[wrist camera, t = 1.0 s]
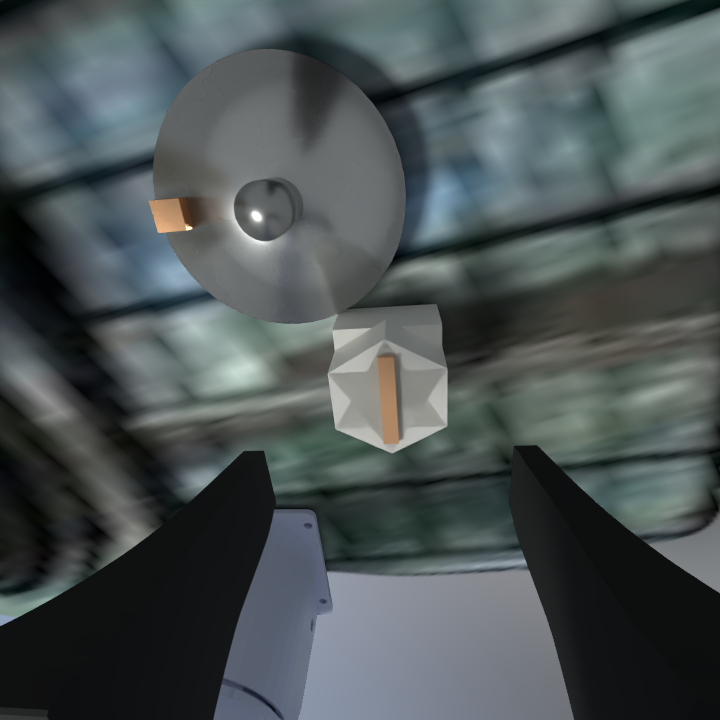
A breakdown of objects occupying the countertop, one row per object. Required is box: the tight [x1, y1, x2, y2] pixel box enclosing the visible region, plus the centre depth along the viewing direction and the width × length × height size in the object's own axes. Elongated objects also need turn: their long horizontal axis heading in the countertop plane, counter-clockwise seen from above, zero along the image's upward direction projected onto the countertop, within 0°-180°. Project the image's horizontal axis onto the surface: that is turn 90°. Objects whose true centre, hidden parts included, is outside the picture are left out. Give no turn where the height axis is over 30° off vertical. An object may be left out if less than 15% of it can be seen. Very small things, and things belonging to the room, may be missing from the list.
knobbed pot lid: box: [149, 49, 406, 324], centre depth 16 cm, size 10×10×3 cm
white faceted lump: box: [328, 304, 447, 453], centre depth 18 cm, size 5×4×5 cm
